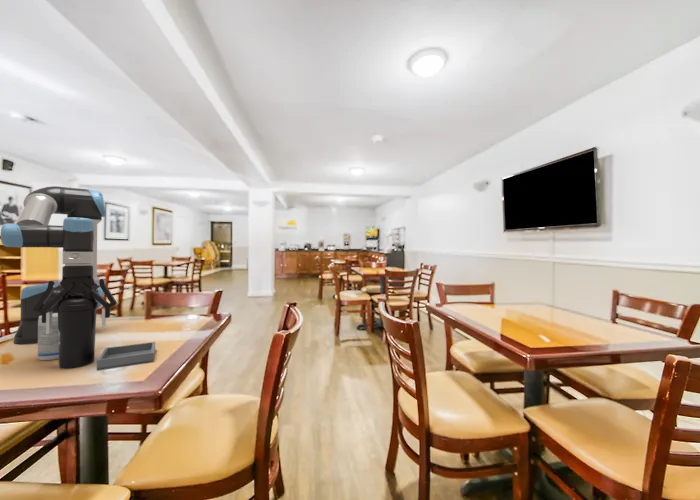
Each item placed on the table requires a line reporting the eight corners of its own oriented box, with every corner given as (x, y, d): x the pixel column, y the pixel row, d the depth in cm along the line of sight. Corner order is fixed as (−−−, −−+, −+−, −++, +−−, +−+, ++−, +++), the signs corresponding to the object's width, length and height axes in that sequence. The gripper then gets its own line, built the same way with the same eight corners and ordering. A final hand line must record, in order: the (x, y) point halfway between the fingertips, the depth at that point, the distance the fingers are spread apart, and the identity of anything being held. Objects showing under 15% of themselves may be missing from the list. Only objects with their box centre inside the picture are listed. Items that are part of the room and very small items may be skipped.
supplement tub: (72, 358, 105) (72, 315, 105) (33, 363, 100) (33, 318, 100) (77, 350, 113) (78, 310, 113) (42, 355, 108) (42, 313, 108)
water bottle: (64, 361, 102) (65, 292, 102) (102, 357, 106) (102, 290, 106) (48, 371, 93) (49, 296, 93) (90, 366, 97) (91, 294, 97)
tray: (105, 356, 106) (105, 347, 106) (155, 349, 114) (155, 341, 114) (96, 370, 94) (97, 360, 94) (153, 361, 101) (153, 352, 101)
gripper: (19, 266, 90) (18, 338, 90) (123, 264, 103) (123, 327, 102) (29, 265, 97) (28, 332, 96) (126, 264, 109) (126, 323, 109)
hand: (77, 330), depth 99 cm, fingers open, 13 cm apart
